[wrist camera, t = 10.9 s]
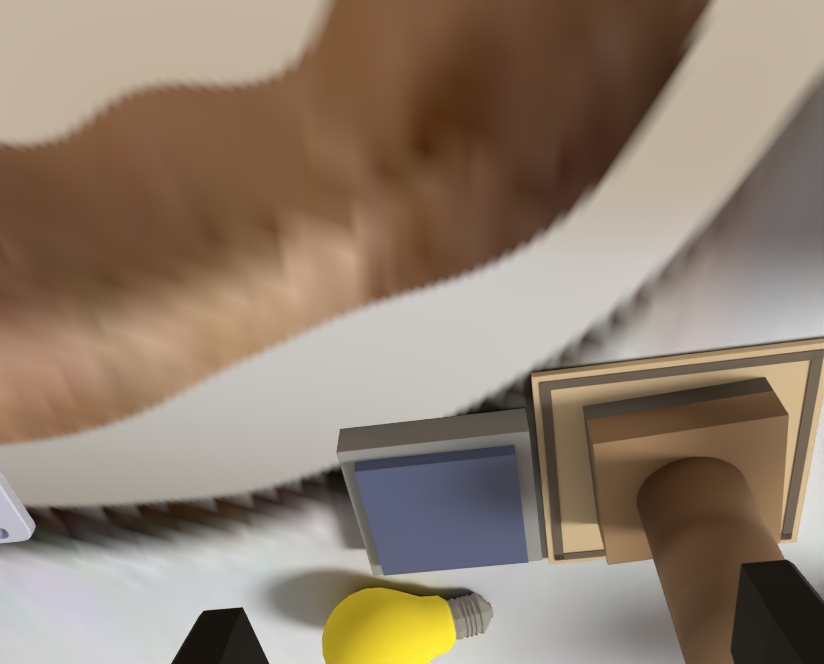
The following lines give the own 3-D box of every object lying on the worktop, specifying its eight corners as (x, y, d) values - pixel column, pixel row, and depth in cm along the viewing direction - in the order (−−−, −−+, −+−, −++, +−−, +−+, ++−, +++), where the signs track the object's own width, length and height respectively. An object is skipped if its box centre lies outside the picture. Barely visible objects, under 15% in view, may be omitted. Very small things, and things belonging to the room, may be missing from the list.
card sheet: (548, 559, 25) (549, 565, 25) (530, 373, 21) (531, 378, 20) (793, 537, 24) (796, 542, 24) (830, 337, 20) (833, 342, 19)
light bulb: (309, 580, 26) (321, 646, 23) (470, 541, 27) (504, 598, 24) (323, 660, 27) (337, 734, 24) (478, 618, 28) (512, 684, 25)
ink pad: (375, 550, 25) (372, 585, 24) (340, 429, 22) (335, 462, 21) (538, 535, 24) (544, 570, 23) (525, 407, 21) (530, 441, 20)
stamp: (597, 524, 24) (647, 722, 18) (582, 405, 21) (634, 599, 16) (759, 502, 23) (859, 701, 18) (765, 376, 20) (885, 568, 15)
